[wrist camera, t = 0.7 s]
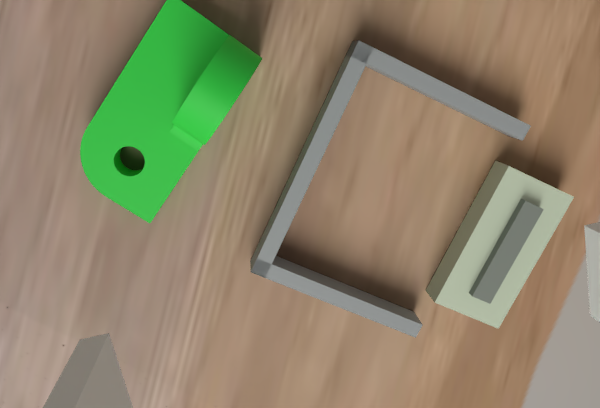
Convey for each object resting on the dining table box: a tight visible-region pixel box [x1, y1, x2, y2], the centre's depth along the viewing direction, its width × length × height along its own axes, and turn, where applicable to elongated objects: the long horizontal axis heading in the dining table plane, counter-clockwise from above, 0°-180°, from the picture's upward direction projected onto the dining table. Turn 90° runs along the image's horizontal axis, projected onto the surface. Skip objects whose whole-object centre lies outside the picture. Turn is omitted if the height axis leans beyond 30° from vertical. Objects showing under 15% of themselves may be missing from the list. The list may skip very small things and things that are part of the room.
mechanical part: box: [80, 0, 262, 223], centre depth 32 cm, size 12×6×8 cm, turn 145°
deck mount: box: [250, 40, 574, 337], centre depth 37 cm, size 17×16×3 cm
